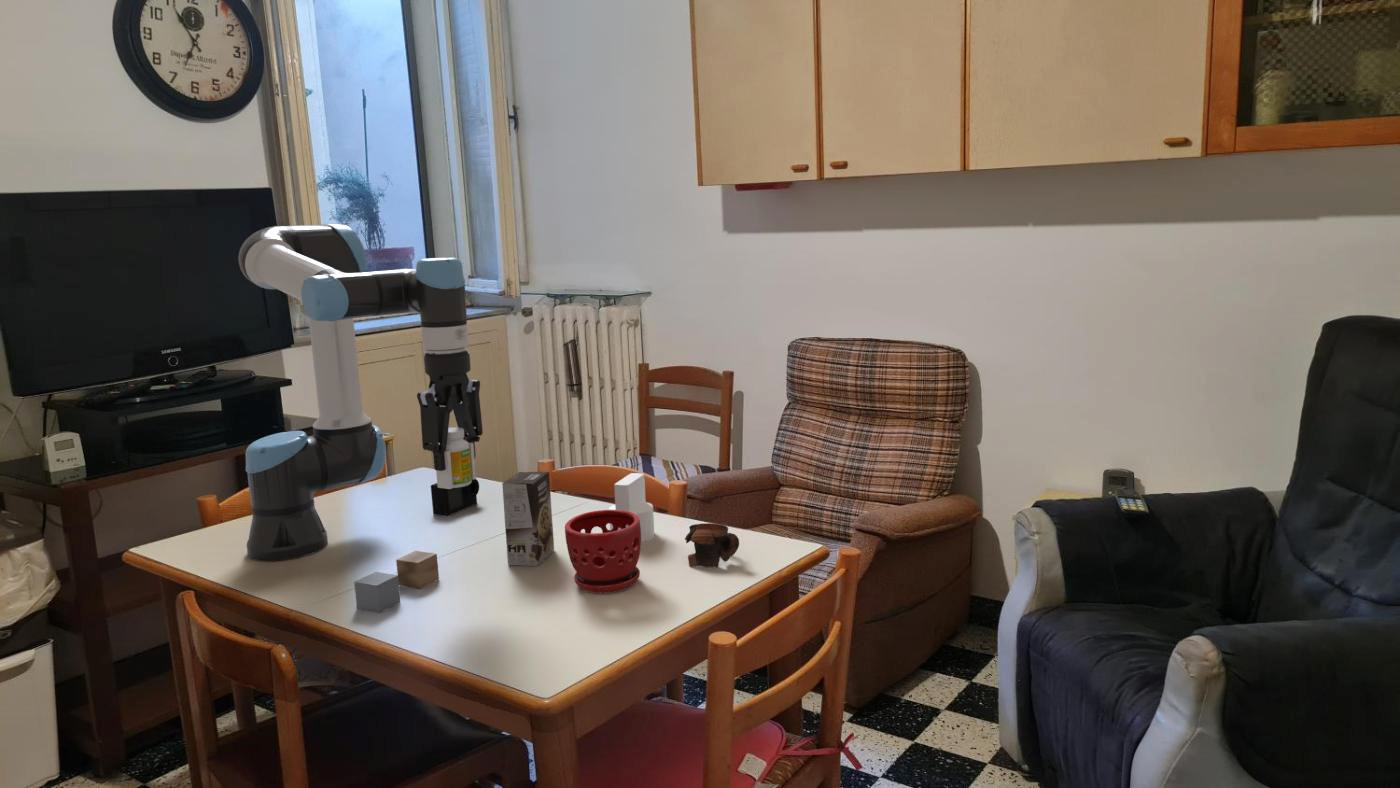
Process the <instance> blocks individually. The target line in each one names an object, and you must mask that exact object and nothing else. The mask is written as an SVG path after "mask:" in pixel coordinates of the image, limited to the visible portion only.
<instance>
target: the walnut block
mask: <svg viewBox="0 0 1400 788" xmlns="http://www.w3.org/2000/svg"><path fill="white" fill-rule="evenodd" d="M395 561H396V573H397V575H398V582H399V585H400V586H399V587H404V586H405V587H406V588H412V589H418V590H422V589H423V588H425V587H428V586H429V585H431V584H433V583H435V582H437V581H439V580H440V577H439V576H440V574H439V564H438V554H437V553H433V552H426V551H419V550H414V551H412V552H409V553H408V554H405V555H403V556H401V557H399V558H396V559H395ZM438 579H439V580H438ZM436 580H437V581H436Z"/></svg>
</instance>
